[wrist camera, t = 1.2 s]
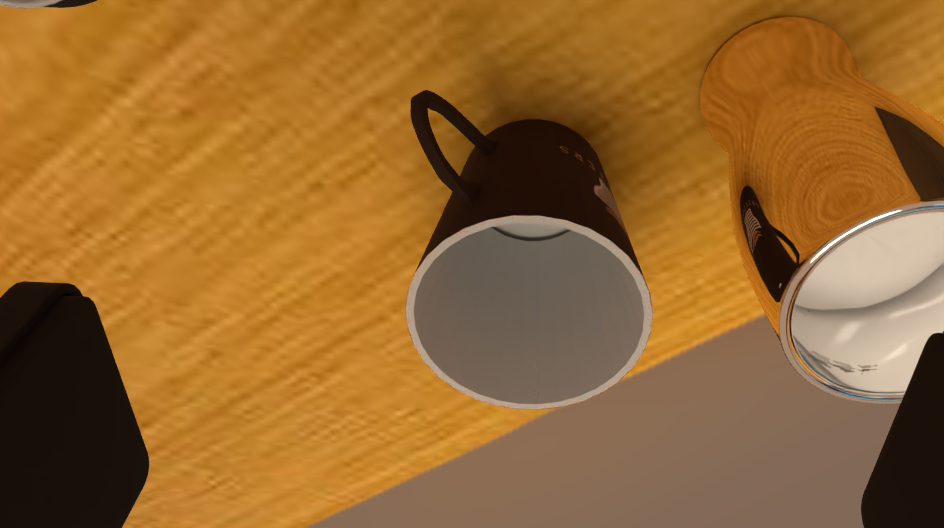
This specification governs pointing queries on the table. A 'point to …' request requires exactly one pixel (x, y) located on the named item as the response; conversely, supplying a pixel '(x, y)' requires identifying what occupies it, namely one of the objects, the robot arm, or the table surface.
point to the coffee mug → (526, 269)
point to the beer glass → (831, 205)
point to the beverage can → (44, 3)
